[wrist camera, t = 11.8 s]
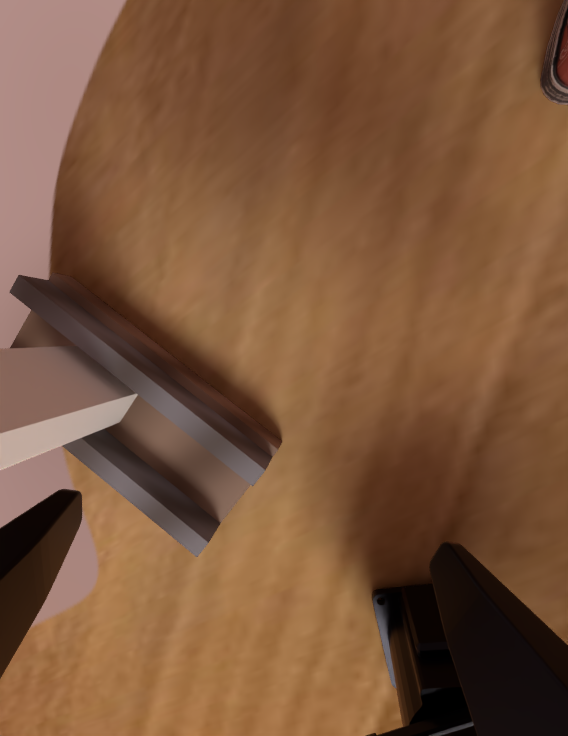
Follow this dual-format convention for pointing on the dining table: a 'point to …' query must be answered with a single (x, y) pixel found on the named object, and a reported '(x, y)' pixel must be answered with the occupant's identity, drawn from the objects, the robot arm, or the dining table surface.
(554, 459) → the dining table surface
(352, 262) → the dining table surface
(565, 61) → the lighter
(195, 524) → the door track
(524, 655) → the robot arm
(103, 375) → the door panel
